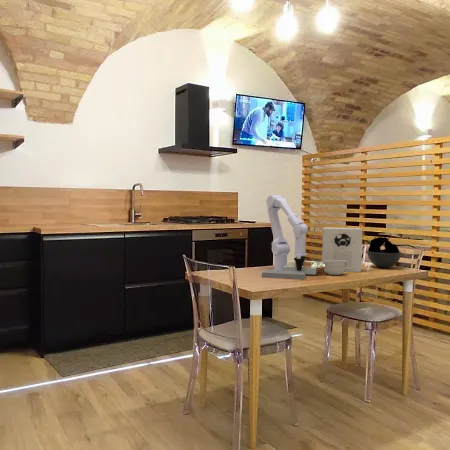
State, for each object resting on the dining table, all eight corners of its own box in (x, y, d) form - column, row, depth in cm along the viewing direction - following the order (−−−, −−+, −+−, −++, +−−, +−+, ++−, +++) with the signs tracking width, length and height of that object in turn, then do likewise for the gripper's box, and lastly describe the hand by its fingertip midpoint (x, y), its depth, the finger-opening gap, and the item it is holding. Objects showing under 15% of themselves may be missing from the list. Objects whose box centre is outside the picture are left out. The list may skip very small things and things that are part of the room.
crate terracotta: (303, 266, 261) (303, 261, 261) (310, 266, 260) (311, 261, 260) (302, 267, 258) (303, 262, 257) (310, 267, 257) (310, 262, 256)
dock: (265, 273, 259) (265, 269, 258) (305, 276, 253) (305, 271, 253) (261, 277, 248) (262, 272, 248) (303, 279, 242) (303, 274, 242)
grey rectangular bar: (282, 272, 260) (282, 266, 260) (284, 271, 265) (284, 265, 265) (315, 274, 255) (315, 268, 255) (316, 273, 260) (316, 267, 260)
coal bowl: (375, 264, 303) (376, 235, 302) (406, 267, 289) (407, 237, 288) (360, 267, 288) (361, 237, 287) (392, 271, 274) (393, 239, 273)
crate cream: (289, 265, 263) (289, 260, 263) (296, 266, 262) (296, 260, 262) (288, 266, 260) (288, 261, 259) (295, 267, 259) (295, 261, 258)
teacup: (329, 276, 253) (329, 261, 253) (321, 273, 264) (321, 259, 263) (353, 275, 256) (353, 261, 255) (344, 272, 266) (344, 258, 266)
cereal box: (358, 270, 277) (360, 228, 276) (361, 272, 270) (362, 228, 268) (321, 269, 280) (322, 227, 278) (323, 271, 272) (324, 228, 271)
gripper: (306, 247, 251) (305, 272, 252) (308, 244, 265) (308, 268, 266) (293, 246, 253) (292, 271, 254) (296, 244, 267) (295, 267, 268)
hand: (299, 270), depth 260 cm, fingers closed on grey rectangular bar, 5 cm apart
